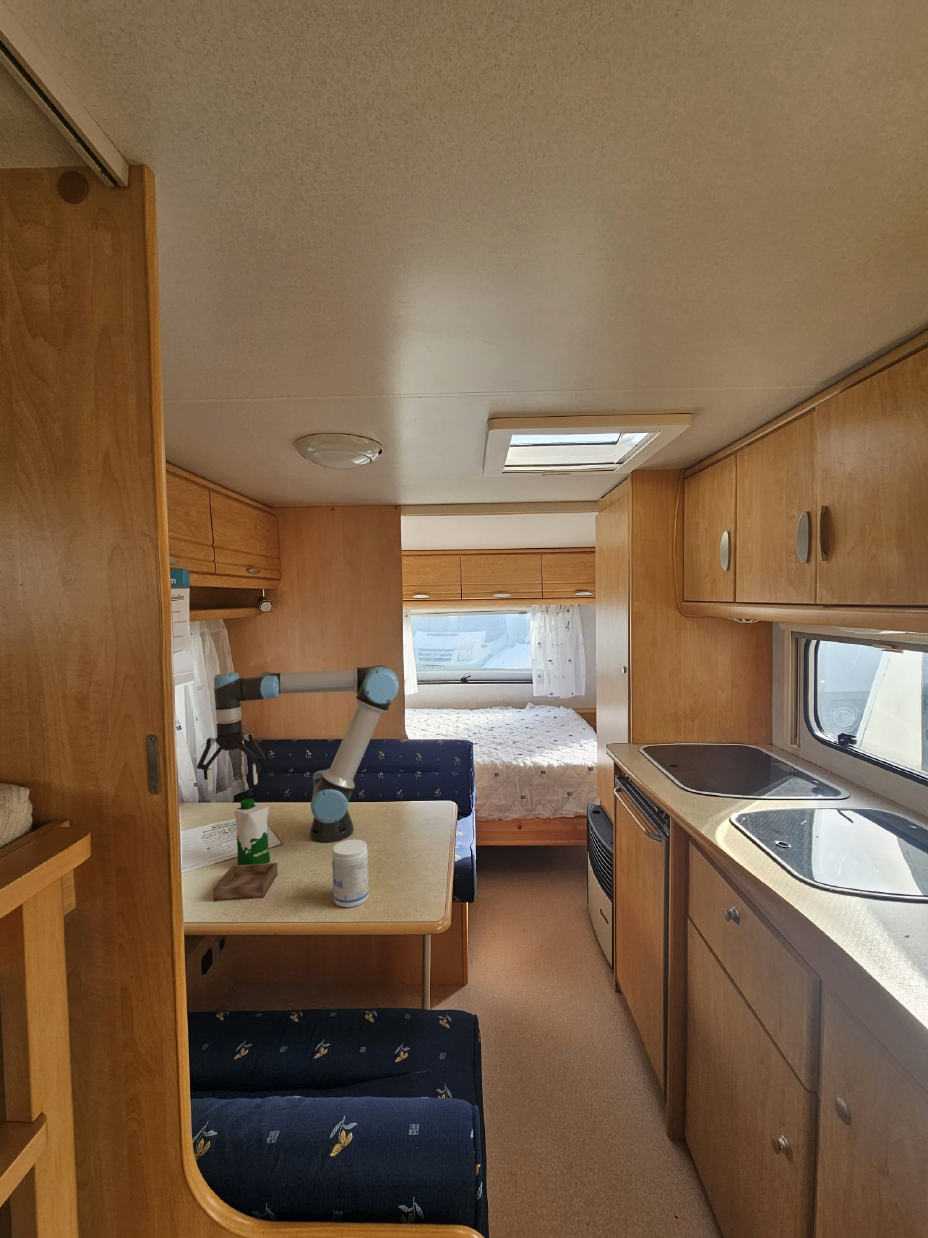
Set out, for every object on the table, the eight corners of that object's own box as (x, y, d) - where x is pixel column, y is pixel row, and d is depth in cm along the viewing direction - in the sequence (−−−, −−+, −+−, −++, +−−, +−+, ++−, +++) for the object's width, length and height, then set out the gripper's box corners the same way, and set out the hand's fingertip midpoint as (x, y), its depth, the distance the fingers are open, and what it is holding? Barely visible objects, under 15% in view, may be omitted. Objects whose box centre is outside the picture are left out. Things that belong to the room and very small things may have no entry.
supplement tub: (326, 901, 143) (324, 848, 143) (354, 886, 150) (352, 836, 150) (348, 913, 137) (346, 857, 137) (376, 897, 144) (374, 844, 144)
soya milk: (257, 855, 173) (254, 795, 173) (274, 861, 169) (272, 799, 169) (233, 866, 166) (230, 804, 166) (251, 873, 161) (248, 808, 161)
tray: (277, 874, 160) (277, 862, 160) (263, 897, 146) (262, 885, 146) (232, 877, 159) (231, 865, 159) (213, 901, 145) (213, 889, 145)
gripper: (271, 714, 175) (275, 777, 175) (189, 723, 169) (194, 788, 169) (268, 718, 168) (273, 784, 168) (183, 727, 162) (188, 795, 162)
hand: (233, 786), depth 169 cm, fingers open, 13 cm apart
